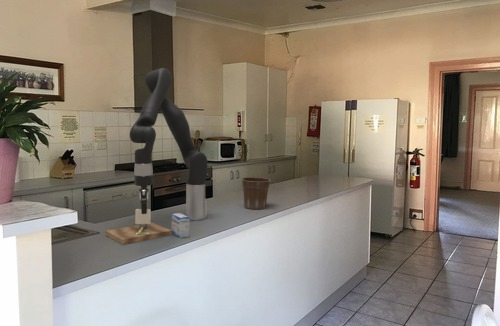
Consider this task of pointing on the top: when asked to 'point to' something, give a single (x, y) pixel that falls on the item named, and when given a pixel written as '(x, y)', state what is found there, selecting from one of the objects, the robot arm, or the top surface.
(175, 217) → the medicine box
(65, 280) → the top surface
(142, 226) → the toy mallet
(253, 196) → the plant pot
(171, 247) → the top surface
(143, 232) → the brown flat wooden board
